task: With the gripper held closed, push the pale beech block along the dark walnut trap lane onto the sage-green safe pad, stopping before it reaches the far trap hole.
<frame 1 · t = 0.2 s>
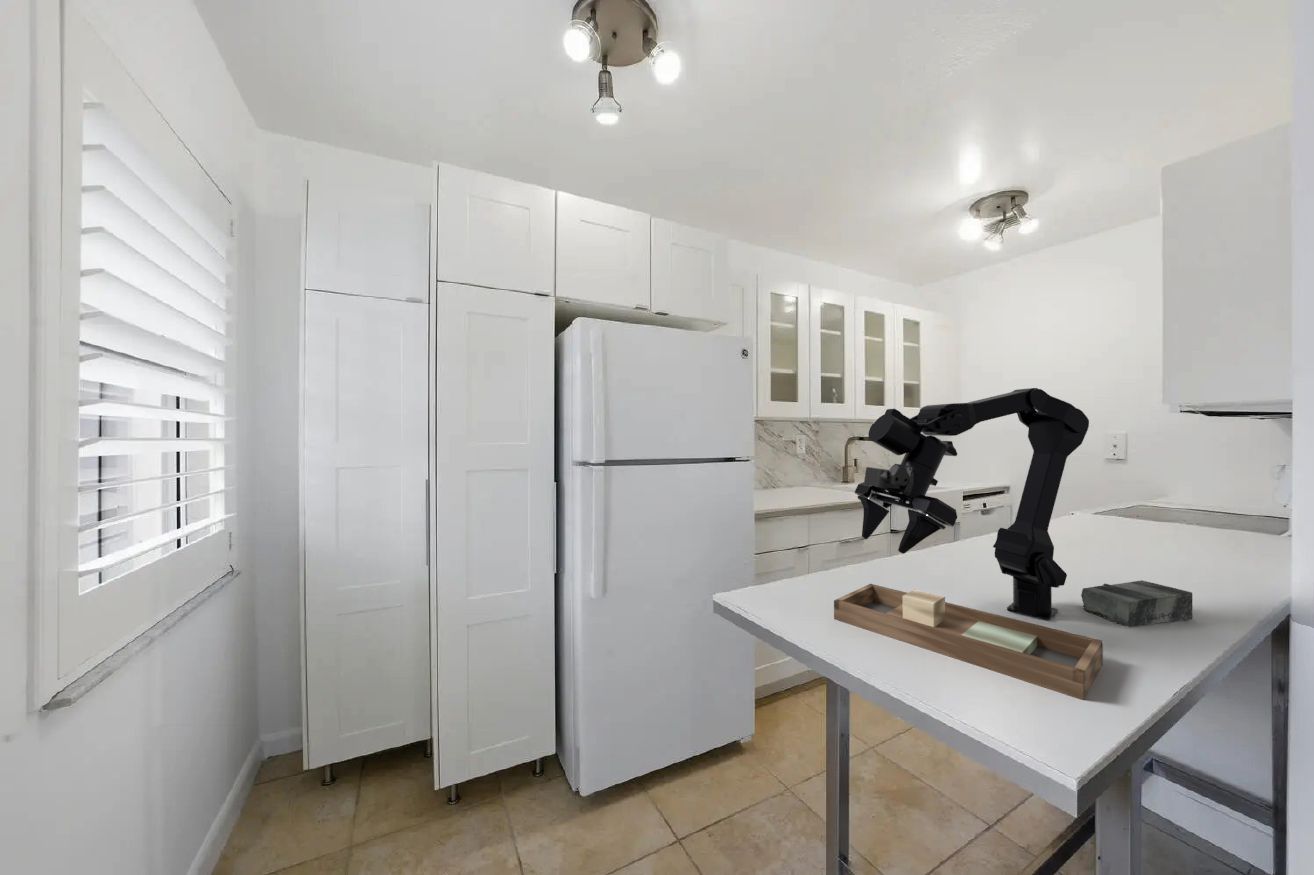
hand: (881, 544, 84), 15 cm above the table, tool tilted 30°, fingers open, 9 cm apart
beech block: (923, 619, 82), point 2 cm above the table, touching trap lane
trap lane: (952, 638, 79), on the table
stone block: (1131, 616, 87), on the table
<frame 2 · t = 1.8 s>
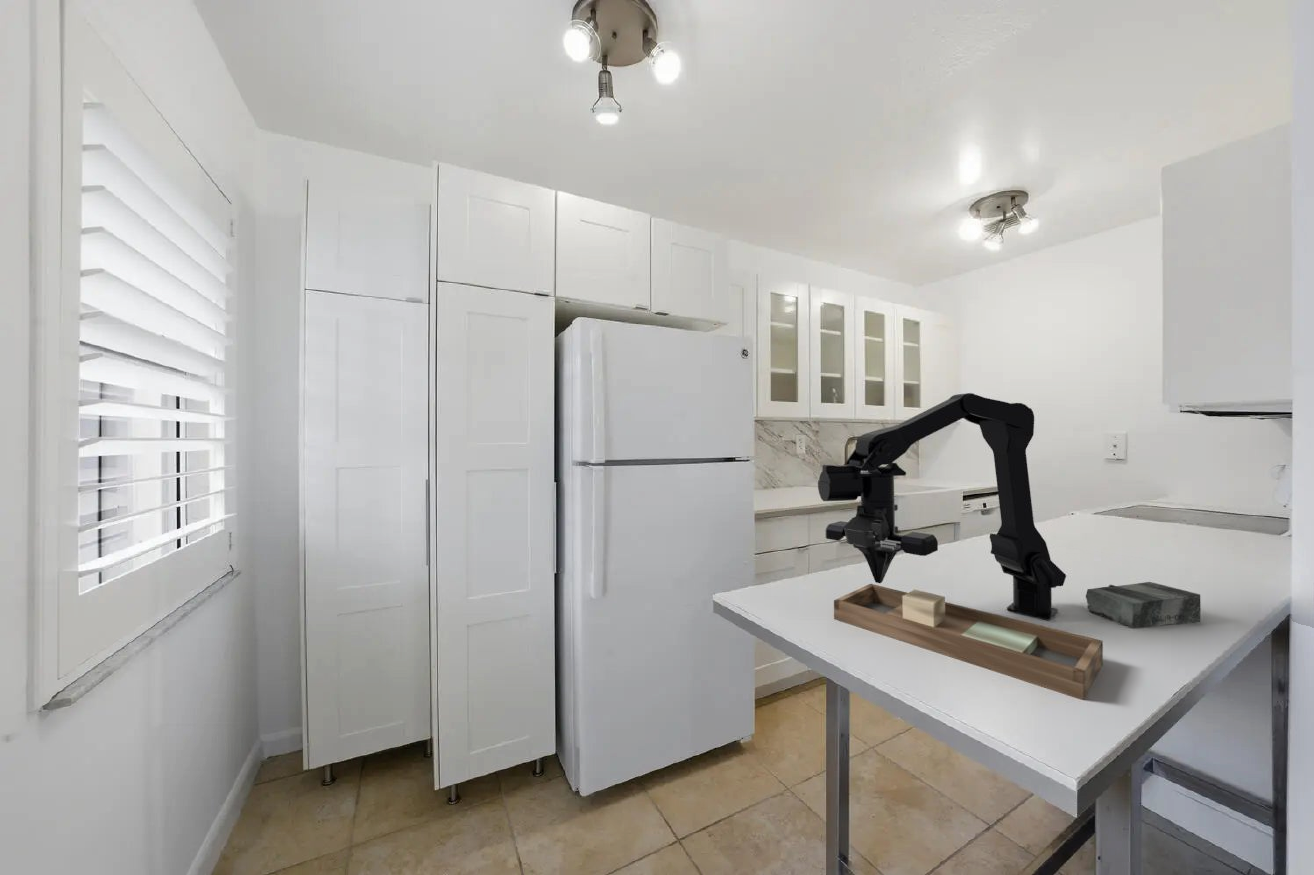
hand: (878, 582, 88), 7 cm above the table, tool pointing down, fingers closed
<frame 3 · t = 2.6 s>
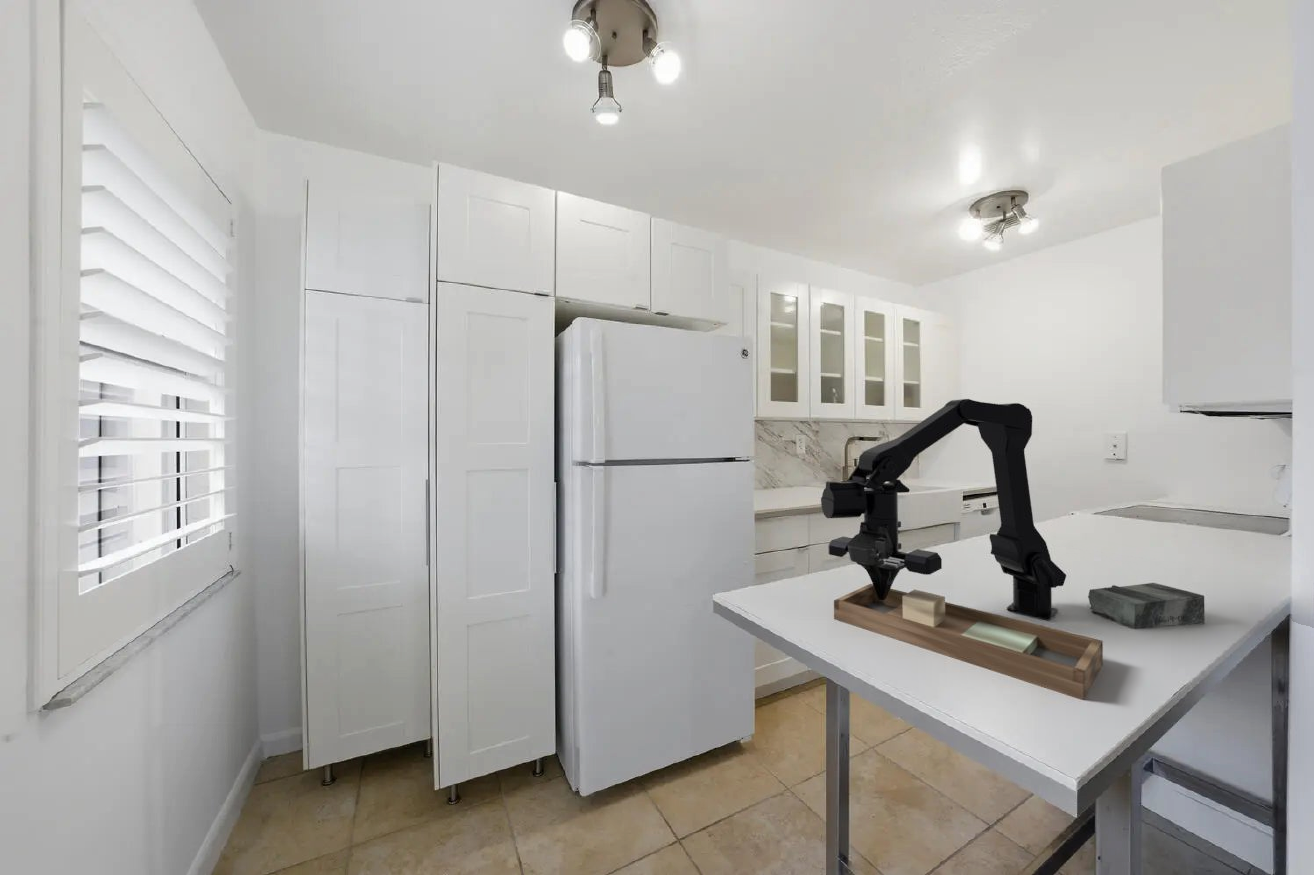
hand: (882, 599, 88), 3 cm above the table, tool pointing down, fingers closed
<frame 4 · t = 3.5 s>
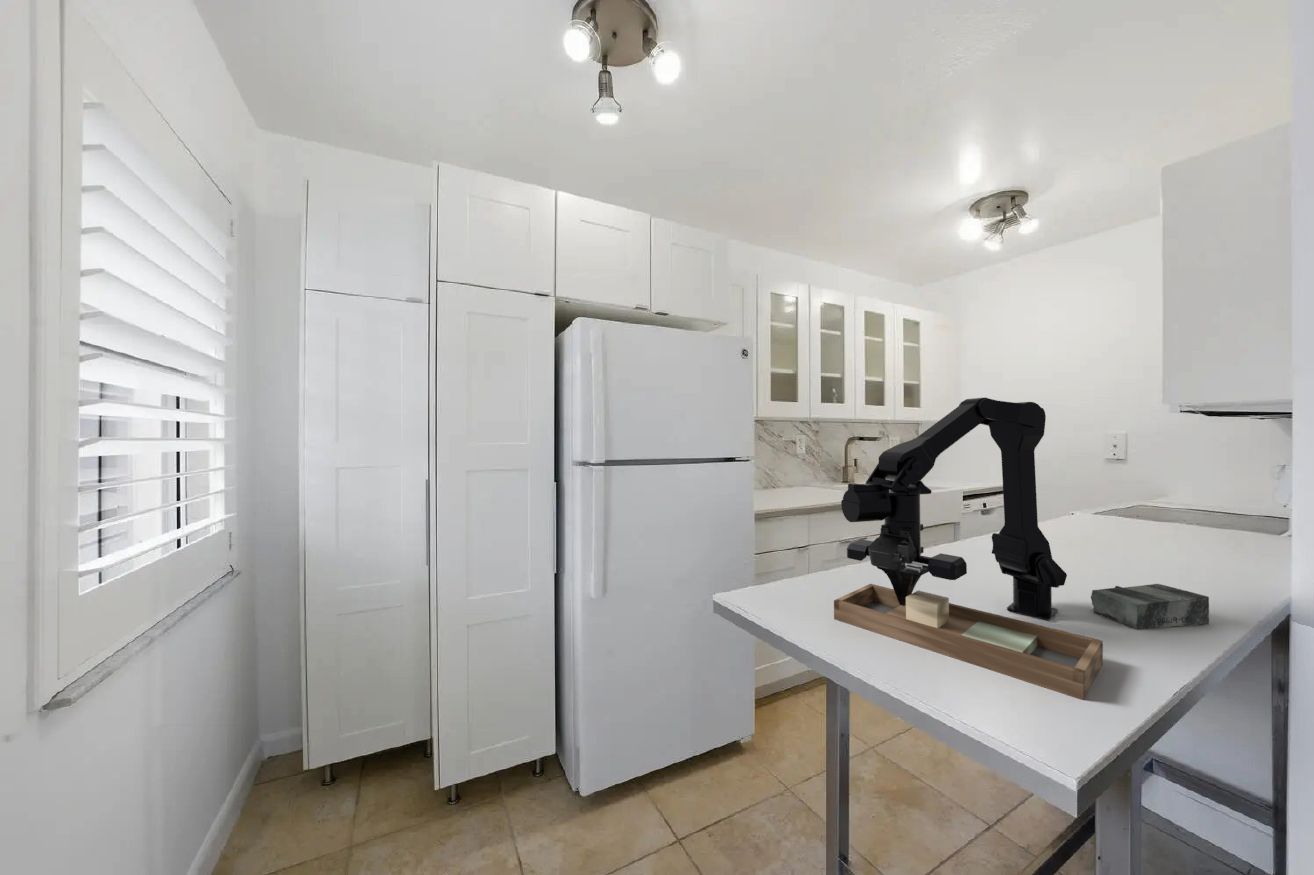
hand: (903, 605, 85), 3 cm above the table, tool pointing down, fingers closed
beech block: (927, 620, 82), point 2 cm above the table, touching gripper, trap lane
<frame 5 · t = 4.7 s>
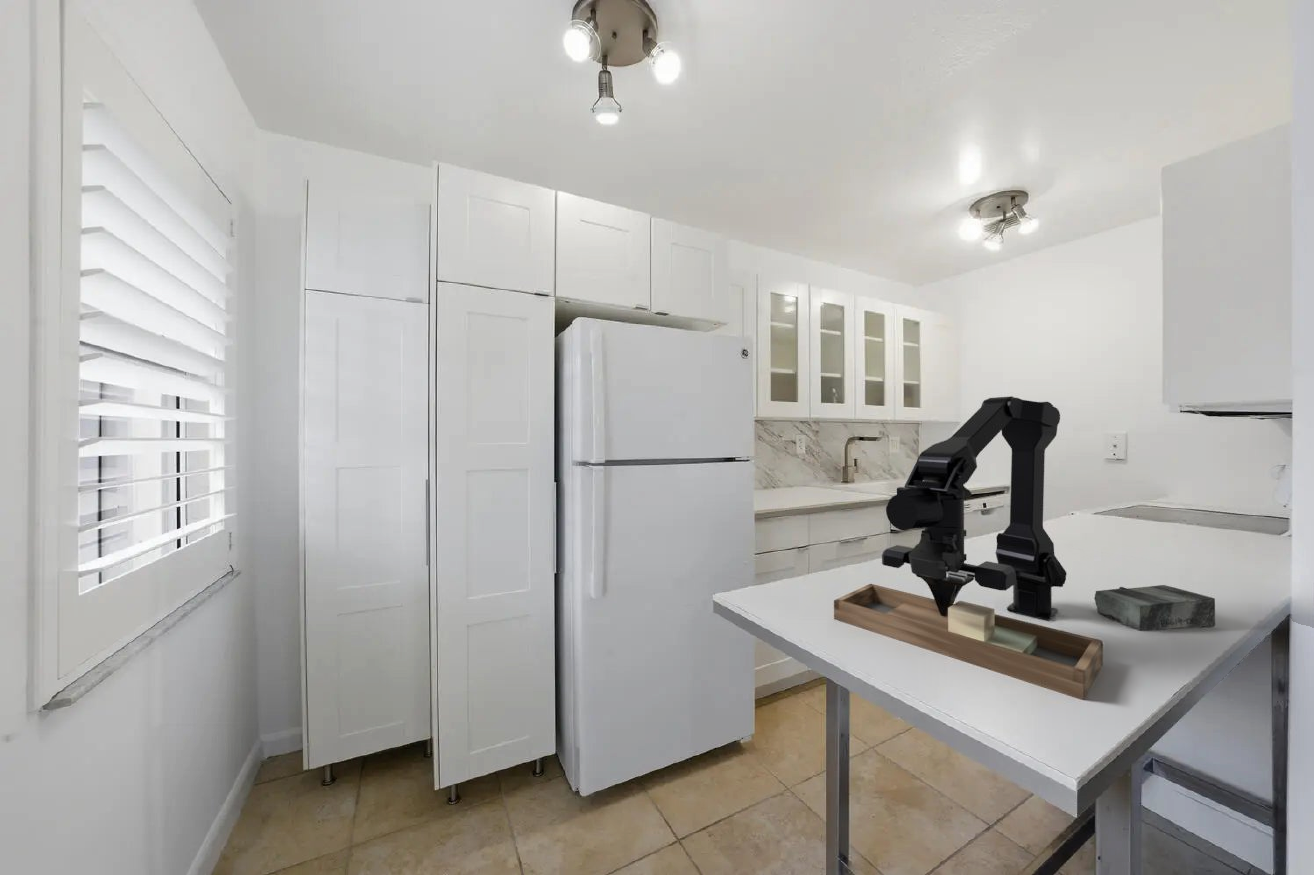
hand: (944, 615, 80), 4 cm above the table, tool pointing down, fingers closed
beech block: (971, 632, 76), point 2 cm above the table, touching gripper, trap lane
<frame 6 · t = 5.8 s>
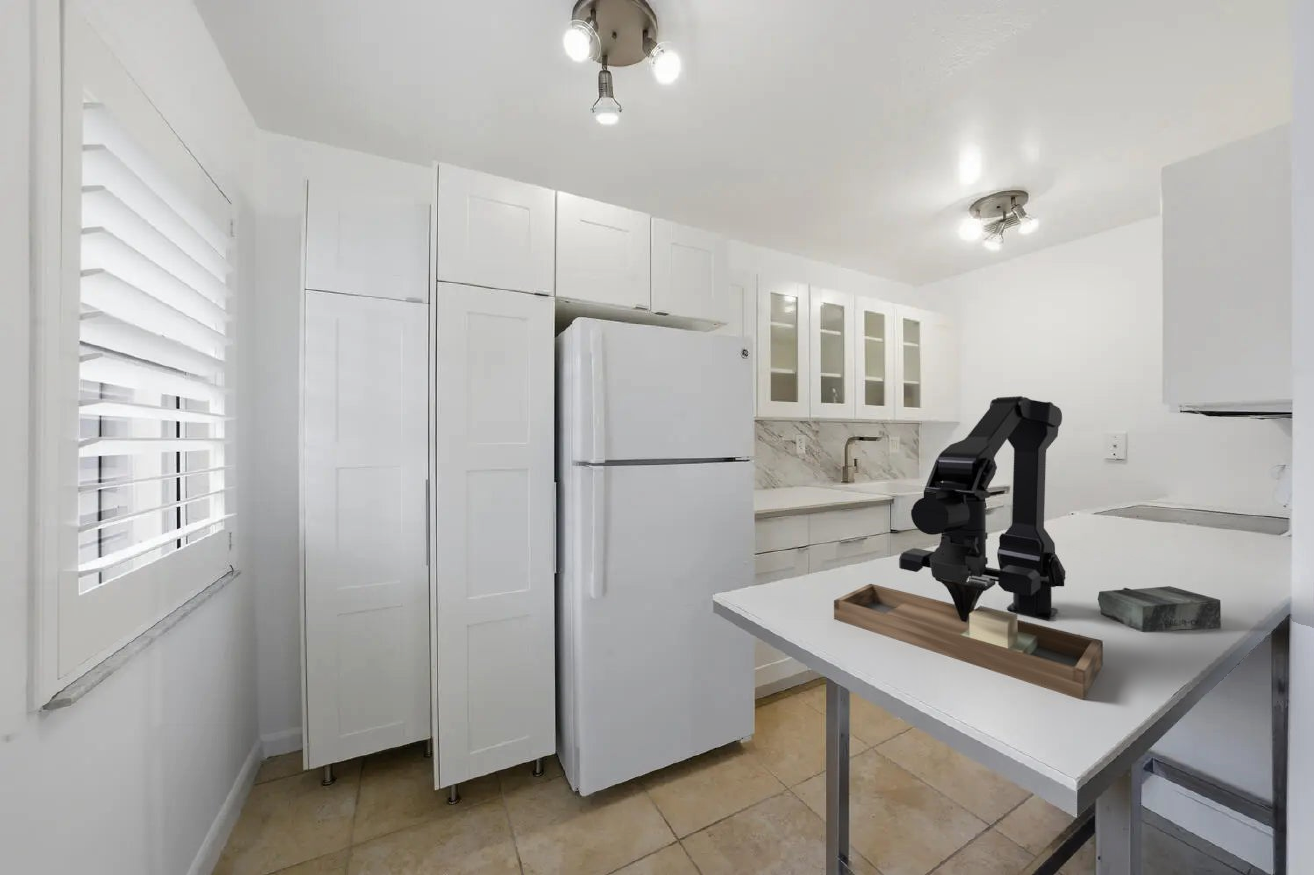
hand: (964, 621, 77), 4 cm above the table, tool pointing down, fingers closed
beech block: (993, 639, 74), point 2 cm above the table, touching gripper, trap lane
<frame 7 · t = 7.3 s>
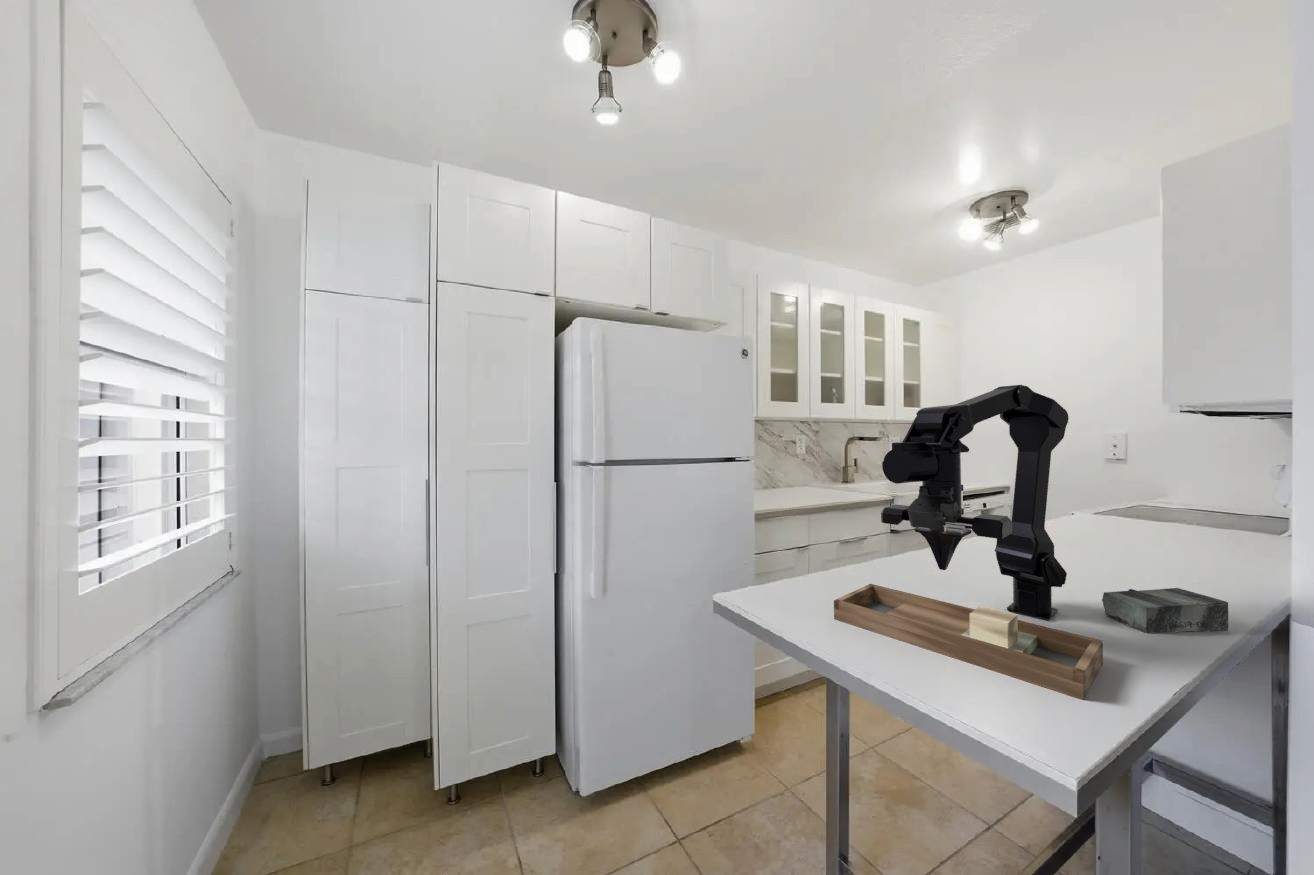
hand: (943, 569, 81), 11 cm above the table, tool pointing down, fingers closed
beech block: (993, 639, 74), point 2 cm above the table, touching trap lane
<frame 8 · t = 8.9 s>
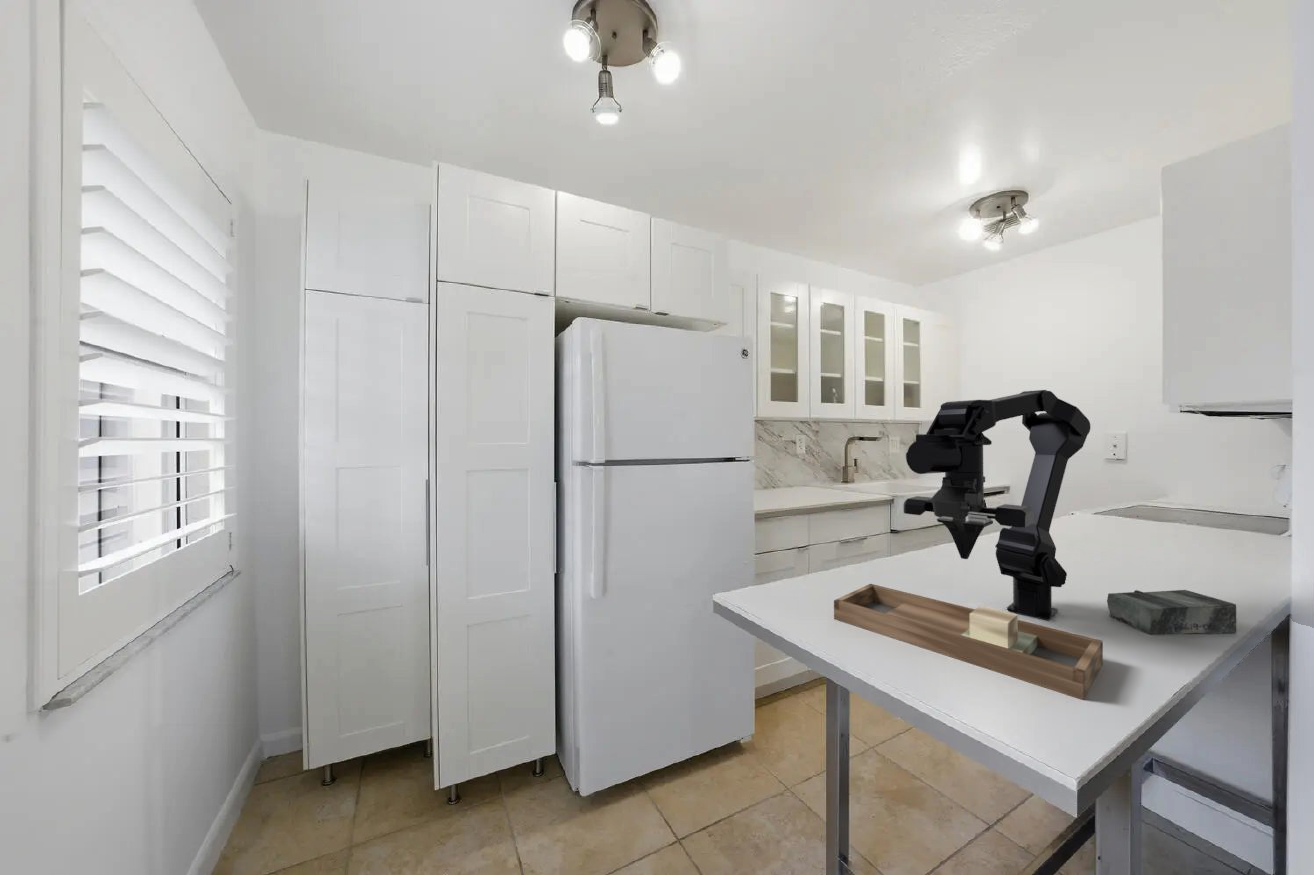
hand: (964, 558, 84), 12 cm above the table, tool pointing down, fingers closed
at the end: beech block inside the target area on the trap lane (0.5 cm from its centre), point 2.0 cm above the trap lane's base; beech block tilted 0° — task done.
